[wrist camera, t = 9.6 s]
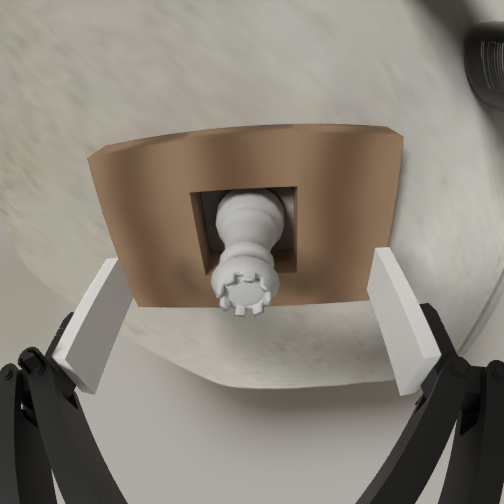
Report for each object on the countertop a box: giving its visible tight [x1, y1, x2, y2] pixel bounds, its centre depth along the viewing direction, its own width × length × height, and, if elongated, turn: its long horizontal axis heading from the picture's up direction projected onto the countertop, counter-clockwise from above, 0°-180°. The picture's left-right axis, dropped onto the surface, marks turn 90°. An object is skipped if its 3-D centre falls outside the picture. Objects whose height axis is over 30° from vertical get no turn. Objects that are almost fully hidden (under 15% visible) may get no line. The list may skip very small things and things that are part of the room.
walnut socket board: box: [87, 124, 403, 307], centre depth 19 cm, size 18×12×2 cm, turn 94°
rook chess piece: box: [211, 188, 285, 317], centre depth 17 cm, size 4×4×8 cm
